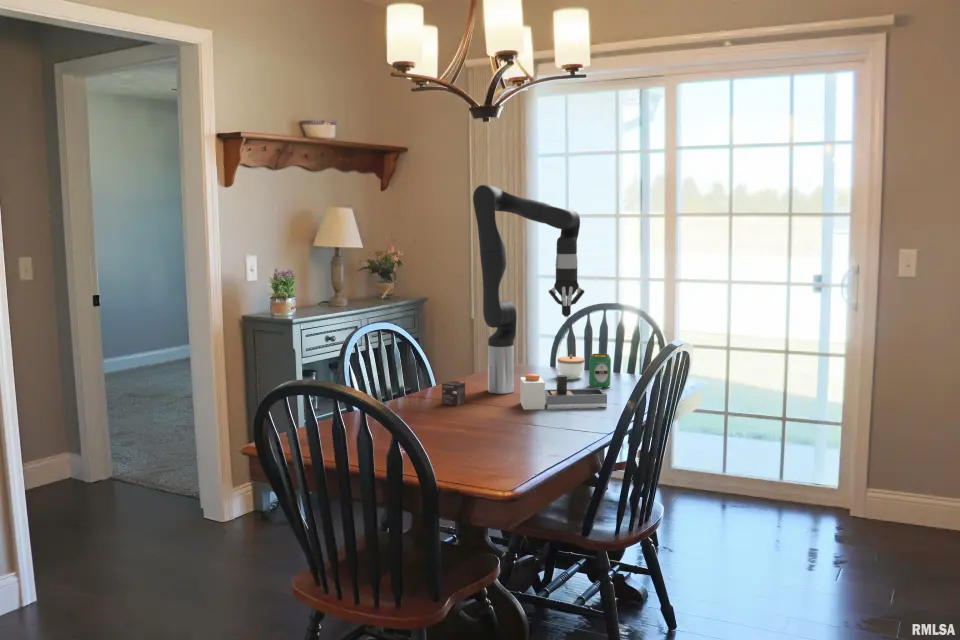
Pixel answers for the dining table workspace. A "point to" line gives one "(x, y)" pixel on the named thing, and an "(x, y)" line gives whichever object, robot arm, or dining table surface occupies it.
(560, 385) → the carriage
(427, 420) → the dining table surface
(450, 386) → the box
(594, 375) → the beverage can
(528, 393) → the white boxy piece
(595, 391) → the gray rectangular tray
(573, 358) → the lidded jar
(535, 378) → the button
